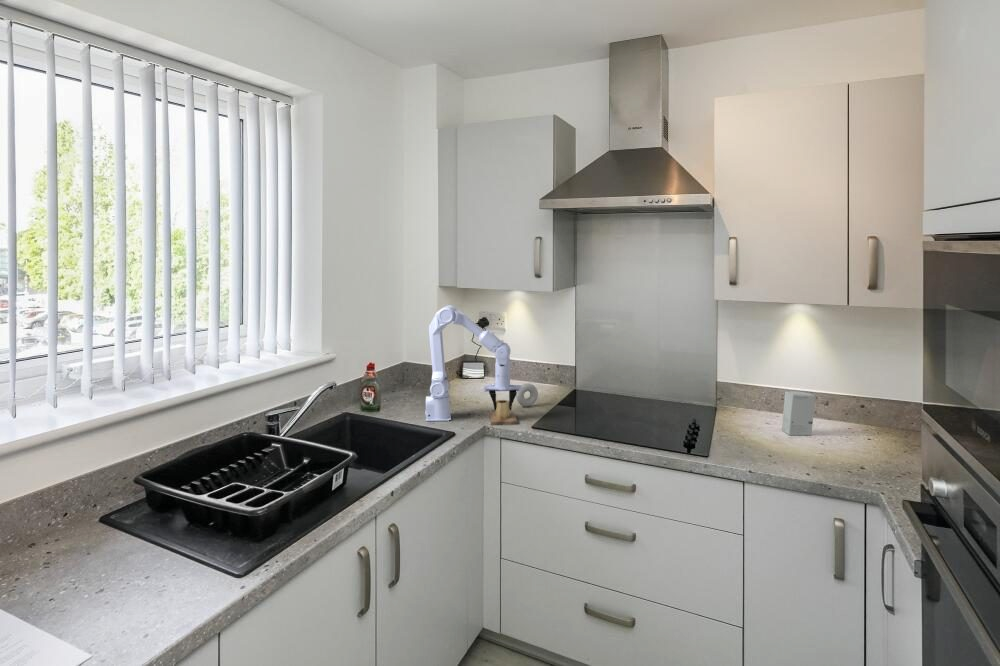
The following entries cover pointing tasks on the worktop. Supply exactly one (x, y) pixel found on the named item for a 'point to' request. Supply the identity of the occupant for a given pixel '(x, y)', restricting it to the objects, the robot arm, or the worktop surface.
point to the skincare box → (798, 413)
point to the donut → (531, 399)
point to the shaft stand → (497, 421)
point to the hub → (502, 409)
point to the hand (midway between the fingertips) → (502, 409)
